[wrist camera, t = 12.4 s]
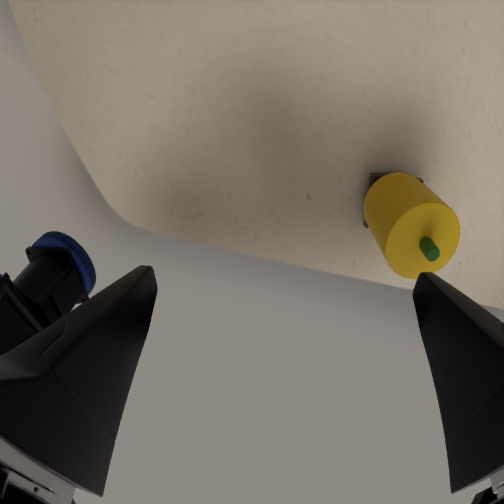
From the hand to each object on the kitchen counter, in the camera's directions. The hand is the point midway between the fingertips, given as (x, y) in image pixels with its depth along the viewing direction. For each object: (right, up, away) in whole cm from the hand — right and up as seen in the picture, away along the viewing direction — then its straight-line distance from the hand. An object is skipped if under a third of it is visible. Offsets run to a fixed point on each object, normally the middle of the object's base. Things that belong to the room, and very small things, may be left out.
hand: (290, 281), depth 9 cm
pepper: (+9, +4, +10) cm, 14 cm away
